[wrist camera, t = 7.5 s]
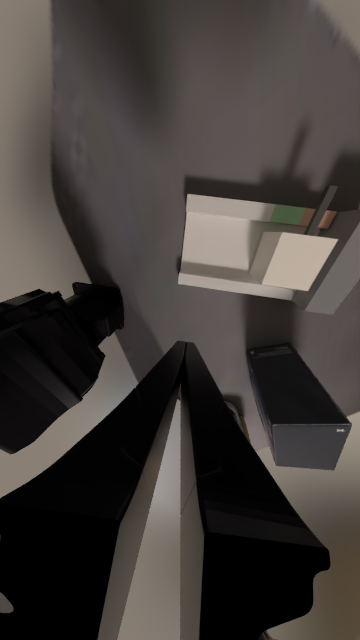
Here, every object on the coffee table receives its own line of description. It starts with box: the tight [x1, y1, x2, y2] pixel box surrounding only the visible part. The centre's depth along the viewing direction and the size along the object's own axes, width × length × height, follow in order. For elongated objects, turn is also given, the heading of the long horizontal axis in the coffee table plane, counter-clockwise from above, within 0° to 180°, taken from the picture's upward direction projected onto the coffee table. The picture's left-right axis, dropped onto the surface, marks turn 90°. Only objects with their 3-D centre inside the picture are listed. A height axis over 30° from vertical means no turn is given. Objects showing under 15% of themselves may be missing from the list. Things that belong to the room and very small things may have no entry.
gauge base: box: [178, 194, 360, 315], centre depth 14 cm, size 15×8×4 cm, turn 83°
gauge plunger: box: [249, 185, 338, 291], centre depth 13 cm, size 4×7×4 cm, turn 174°
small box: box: [247, 344, 352, 470], centre depth 20 cm, size 11×6×10 cm, turn 19°
